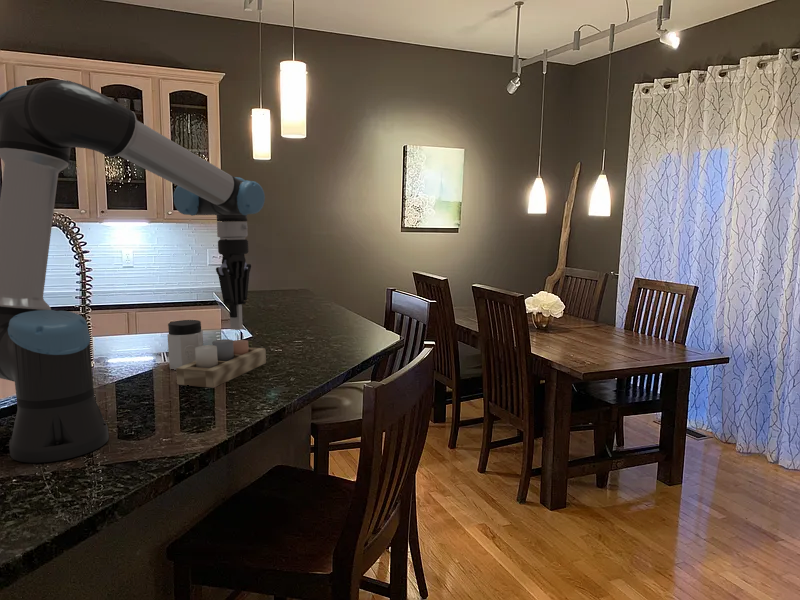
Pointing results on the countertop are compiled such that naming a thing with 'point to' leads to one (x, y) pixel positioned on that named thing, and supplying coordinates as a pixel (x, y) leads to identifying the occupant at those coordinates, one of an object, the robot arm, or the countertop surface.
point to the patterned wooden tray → (220, 369)
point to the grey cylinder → (224, 349)
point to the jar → (183, 342)
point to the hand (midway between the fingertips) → (236, 329)
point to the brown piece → (240, 347)
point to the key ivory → (206, 356)
